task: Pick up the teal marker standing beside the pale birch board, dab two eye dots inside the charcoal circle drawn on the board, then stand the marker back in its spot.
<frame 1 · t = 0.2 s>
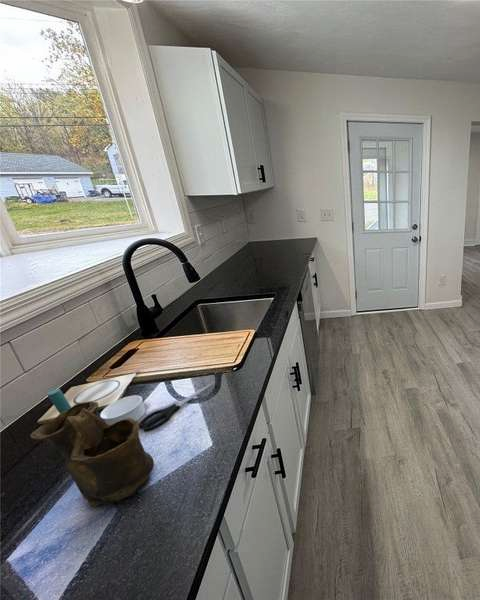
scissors: (181, 405, 89), on the counter
pottery vessel: (123, 486, 67), on the counter
ramekin: (128, 419, 86), on the counter
marker: (74, 423, 85), on the counter
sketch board: (93, 397, 96), on the counter
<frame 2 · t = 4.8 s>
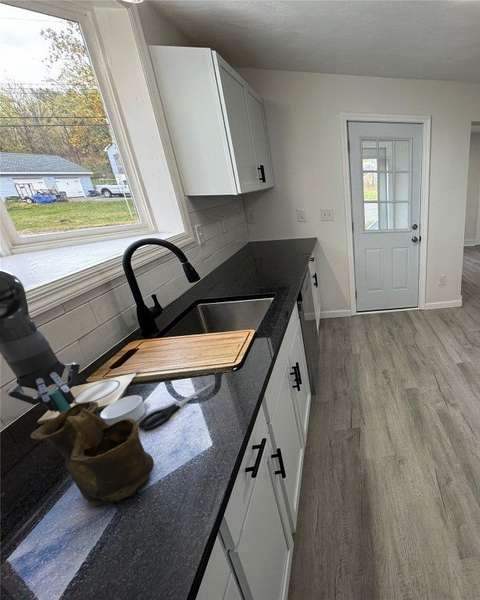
hand: (63, 406, 83), 6 cm above the counter, tool pointing down, fingers closed on marker, 2 cm apart
marker: (74, 423, 85), on the counter, touching gripper
everything else where it was.
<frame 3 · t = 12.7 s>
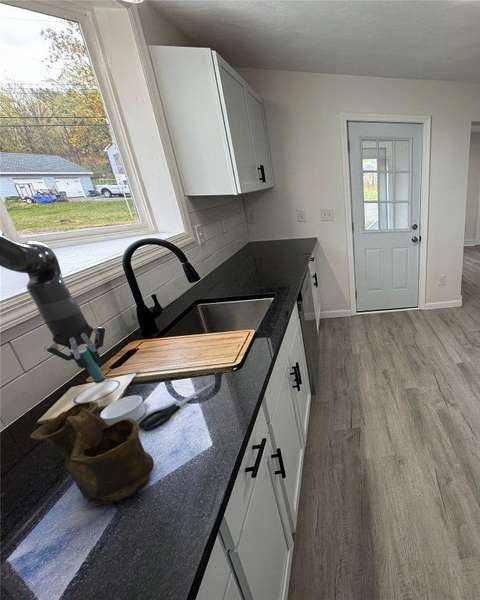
hand: (91, 364, 95), 10 cm above the counter, tool pointing down, fingers closed on marker, 2 cm apart
marker: (100, 381, 97), point 4 cm above the counter, touching gripper
everything else where it was.
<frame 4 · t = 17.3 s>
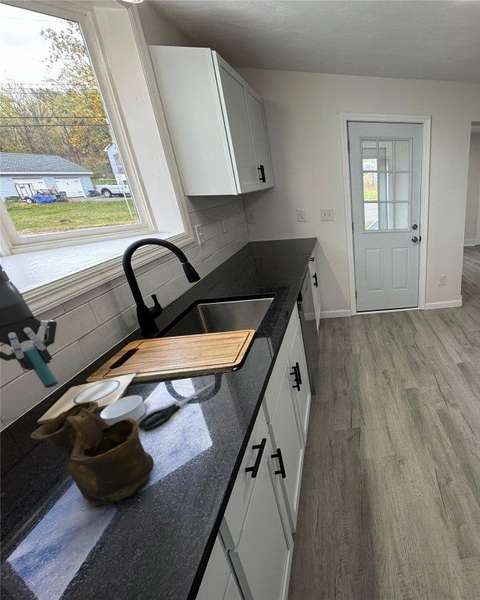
hand: (39, 365, 78), 19 cm above the counter, tool pointing down, fingers closed on marker, 2 cm apart
marker: (51, 385, 81), point 13 cm above the counter, touching gripper
everything else where it was.
when the fingers open (6 cm above the counter, at t = 20.9 s): marker stays where it is, on the counter.
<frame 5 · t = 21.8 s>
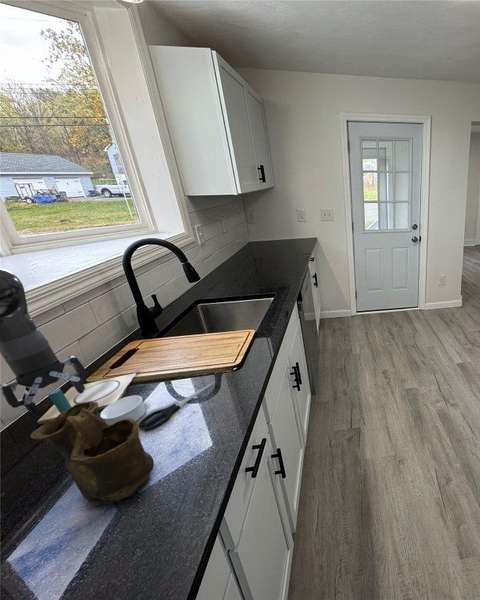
hand: (60, 402, 82), 7 cm above the counter, tool pointing down, fingers open, 8 cm apart
marker: (74, 423, 85), on the counter
everything else where it was.
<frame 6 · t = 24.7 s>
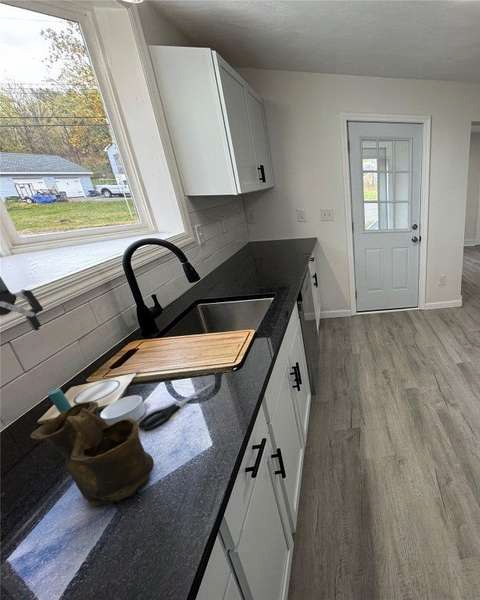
hand: (12, 337, 77), 26 cm above the counter, tool pointing down, fingers open, 8 cm apart
nothing on the counter moved.
at the end: marker tilted 0°; marker inside the target area (0.1 cm from its centre), on the counter; the gripper is holding nothing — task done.
